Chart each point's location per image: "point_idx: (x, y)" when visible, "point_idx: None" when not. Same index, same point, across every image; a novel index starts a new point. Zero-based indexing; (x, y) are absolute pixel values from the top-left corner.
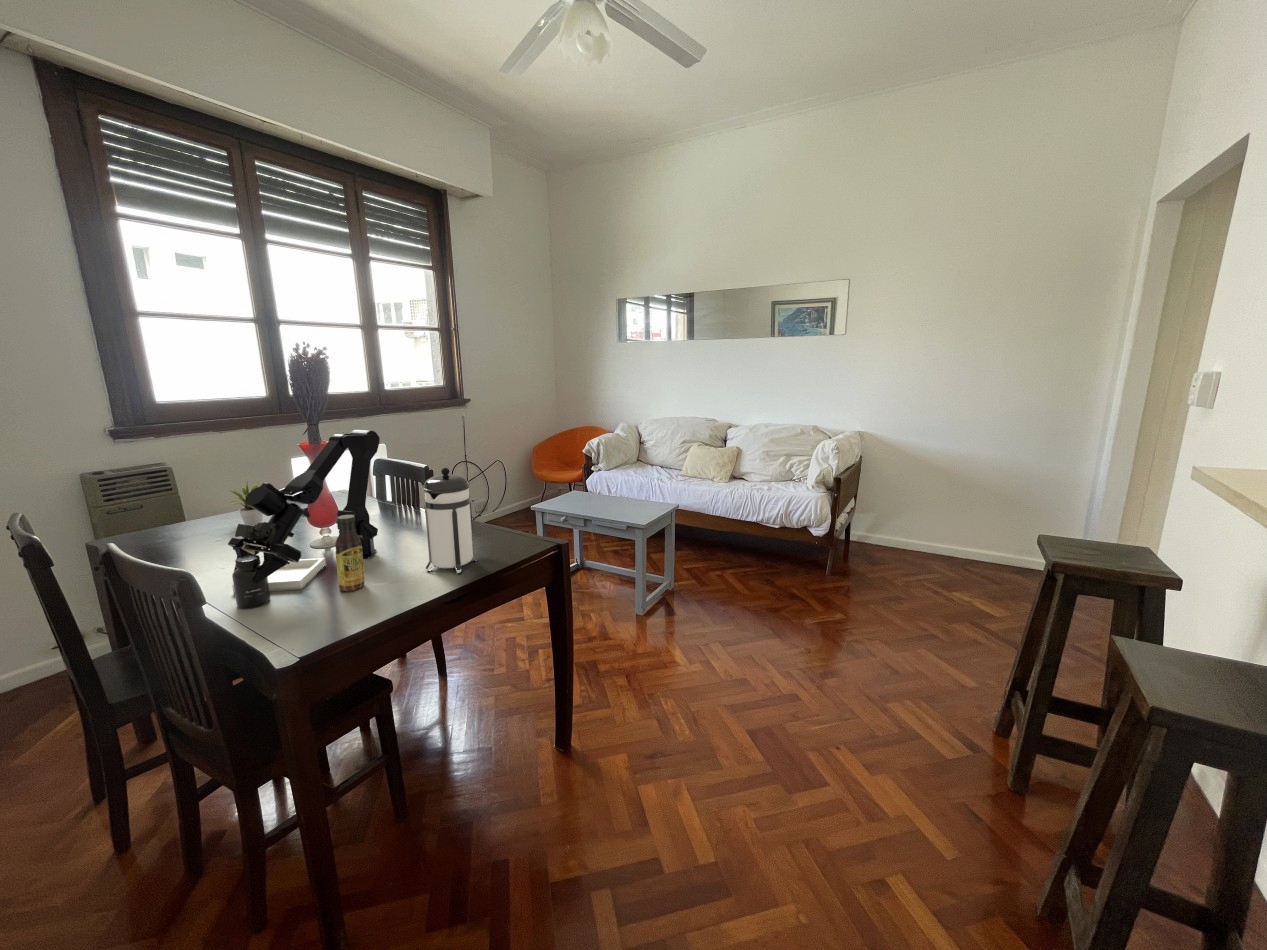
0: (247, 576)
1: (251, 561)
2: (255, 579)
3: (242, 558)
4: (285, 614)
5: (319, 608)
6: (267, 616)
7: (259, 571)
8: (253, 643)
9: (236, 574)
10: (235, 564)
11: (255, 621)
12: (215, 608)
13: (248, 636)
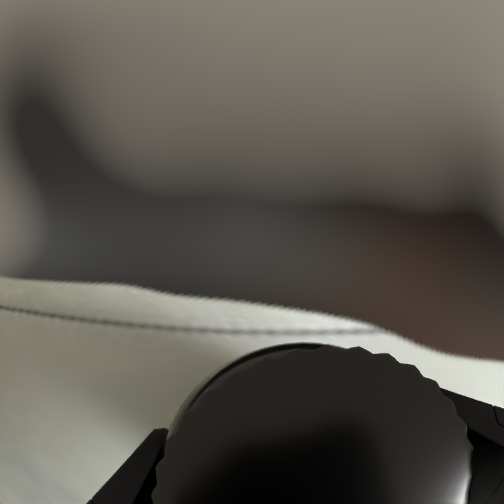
0: (182, 406)
1: (156, 485)
2: (147, 440)
3: (383, 451)
4: (54, 436)
5: (9, 499)
6: (93, 401)
7: (123, 483)
8: (3, 278)
9: (271, 352)
10: (489, 404)
11: (96, 357)
12: (374, 328)
13: (36, 290)
